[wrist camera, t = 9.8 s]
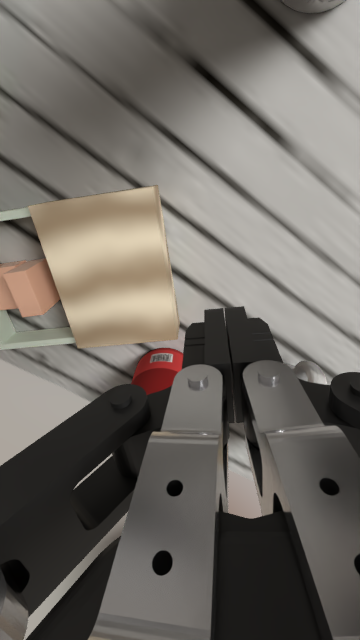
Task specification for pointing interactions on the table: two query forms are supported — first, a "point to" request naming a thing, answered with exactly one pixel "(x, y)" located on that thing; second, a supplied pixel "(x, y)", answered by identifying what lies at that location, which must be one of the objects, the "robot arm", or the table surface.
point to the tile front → (32, 287)
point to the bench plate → (110, 266)
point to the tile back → (3, 297)
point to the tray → (5, 336)
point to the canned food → (158, 369)
